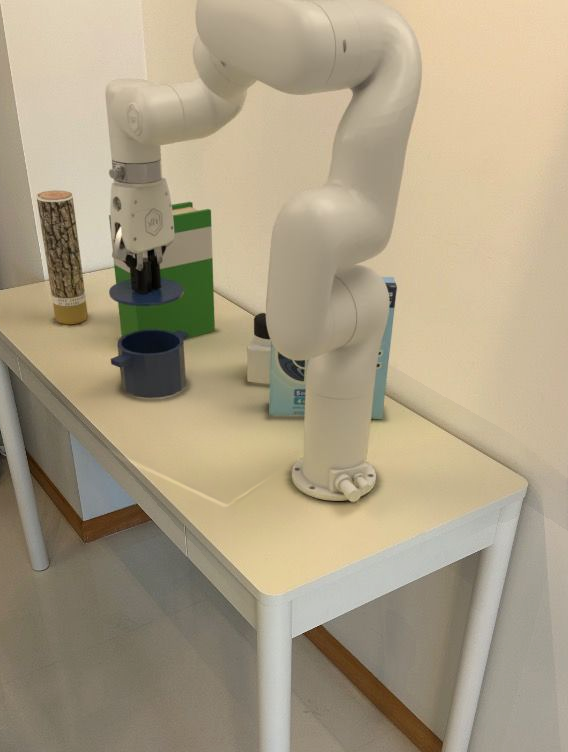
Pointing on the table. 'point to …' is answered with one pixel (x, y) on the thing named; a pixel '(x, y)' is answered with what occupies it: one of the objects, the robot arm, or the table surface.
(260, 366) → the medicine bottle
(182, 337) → the pot
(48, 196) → the paper tube
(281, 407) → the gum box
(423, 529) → the table surface
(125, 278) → the hardback book
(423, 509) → the table surface
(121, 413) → the table surface
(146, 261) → the lid
